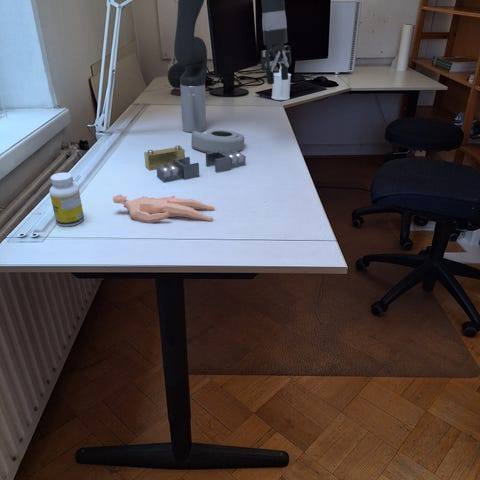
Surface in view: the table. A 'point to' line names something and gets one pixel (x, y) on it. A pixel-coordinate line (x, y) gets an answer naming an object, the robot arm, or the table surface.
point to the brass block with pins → (162, 157)
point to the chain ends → (187, 170)
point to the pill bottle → (66, 200)
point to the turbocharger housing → (217, 141)
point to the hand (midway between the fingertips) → (277, 81)
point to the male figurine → (162, 208)
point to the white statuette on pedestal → (281, 87)
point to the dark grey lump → (176, 78)
